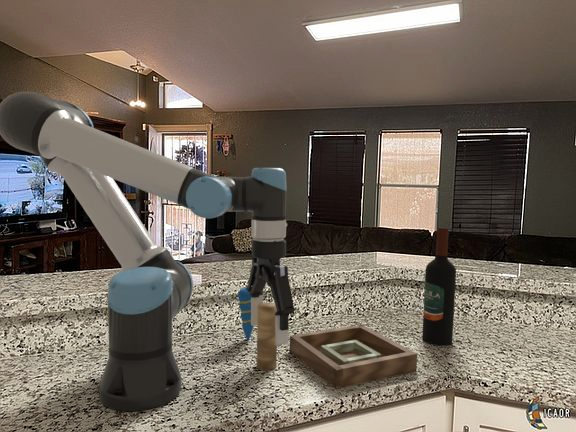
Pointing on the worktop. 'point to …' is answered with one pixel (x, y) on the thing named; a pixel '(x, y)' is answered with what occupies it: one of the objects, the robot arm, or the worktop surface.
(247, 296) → the ornament
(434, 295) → the wine bottle
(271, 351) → the peg
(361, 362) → the box
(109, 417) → the worktop surface
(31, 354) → the worktop surface
